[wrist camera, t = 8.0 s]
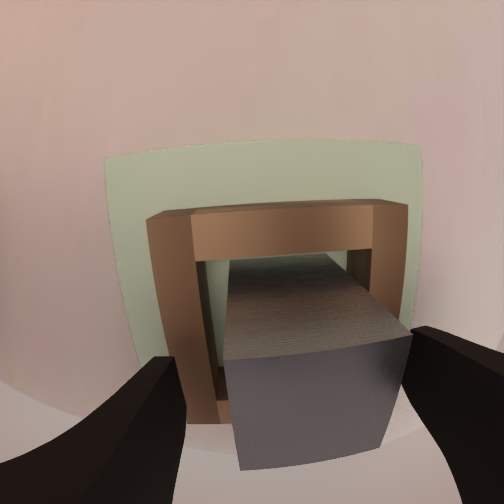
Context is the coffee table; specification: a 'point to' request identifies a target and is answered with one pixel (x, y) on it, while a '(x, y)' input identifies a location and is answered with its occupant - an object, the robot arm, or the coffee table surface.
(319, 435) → the grey brown rectangular block
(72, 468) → the robot arm
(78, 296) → the coffee table surface
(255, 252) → the socket block
